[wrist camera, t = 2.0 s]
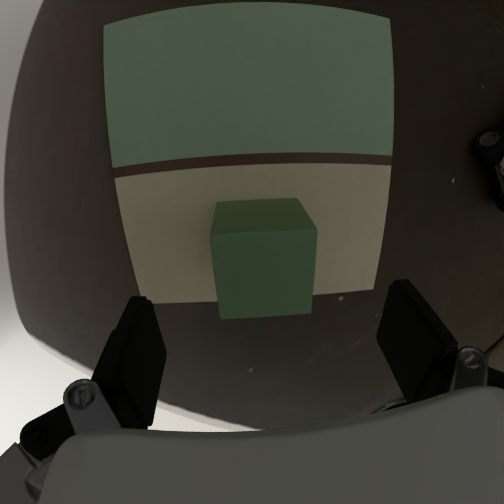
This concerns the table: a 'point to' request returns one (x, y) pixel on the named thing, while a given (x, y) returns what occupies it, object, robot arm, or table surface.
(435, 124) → the table surface
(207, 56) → the board
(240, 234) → the sage block
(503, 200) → the toy car
